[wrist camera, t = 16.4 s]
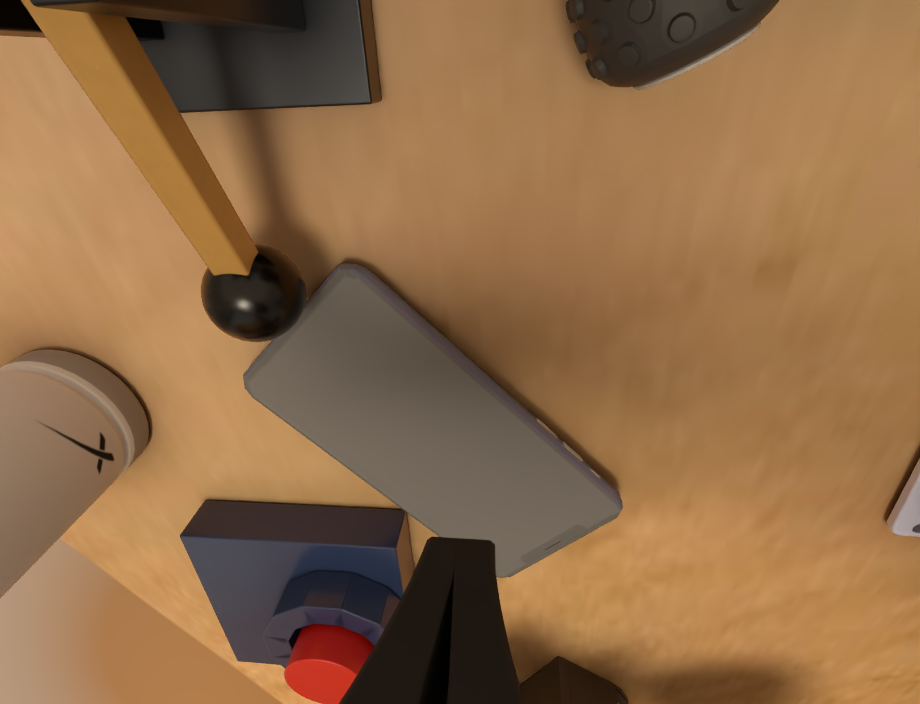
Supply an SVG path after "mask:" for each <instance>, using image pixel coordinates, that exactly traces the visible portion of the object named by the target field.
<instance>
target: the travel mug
mask: <svg viewBox="0 0 920 704" xmlns="http://www.w3.org/2000/svg"><path fill="white" fill-rule="evenodd" d="M148 436H149V429H148V421H147V418H146V415H145V412H144V410H143V408H142V406H141V404H140V402H139V401H138V399H137V398H136V397H135V395H134V394H133V393H132V391H131V390H130V389H129V388H128V387H127V386H126V385H125V384H124V383H123V382H122V381H121V380H120V379H119V378H118V377H116V376H115V375H114V374H113V373H111V372H110V371H109V370H107V369H106V368H104V367H102V366H101V365H99V364H97V363H96V362H94V361H92V360H89V359H87V358H85V357H83V356H80V355H77V354H74V353H70V352H67V351H60V350H52V349H46V350H34V351H31V352H28V353H25V354H23V355H21V356H19V357H18V358H16V359H14V360H13V361H11V362H9V363H8V364H6V365H4V366H2V367H1V368H0V598H1V597H2V596H3V595H4V594H5V593H6V592H7V591H8V590H9V589H10V588H11V587H12V586H13V585H14V584H15V583H16V582H17V581H18V580H19V579H20V578H21V576H23V575H24V574H25V572H26V571H27V570H28V569H29V568H30V567H31V566H32V565H33V564H34V563H35V562H36V561H37V560H38V559H39V558H40V557H41V556H42V555H43V554H44V553H45V552H46V551H47V550H48V549H49V548H50V547H51V546H52V545H53V544H54V543H55V542H56V541H57V540H58V539H59V538H60V537H61V536H62V535H63V533H64V532H65V531H66V530H67V529H68V528H69V527H70V526H71V525H72V524H73V523H74V522H75V521H76V520H77V519H78V518H79V517H80V516H81V515H82V514H83V513H84V512H85V511H86V510H87V509H88V508H89V507H90V506H91V505H92V504H93V503H94V502H95V501H96V500H97V499H98V498H99V496H100V495H101V494H102V493H103V492H104V491H105V490H106V489H107V488H108V487H109V486H110V485H111V484H112V483H113V482H114V481H115V480H116V479H117V478H118V476H119V475H120V474H121V473H123V472H124V471H125V470H126V469H127V468H128V467H129V466H130V465H131V464H132V463H133V462H134V461H135V459H136V458H137V457H138V456H139V455H140V454H141V453H142V452H143V450H144V449H145V447H146V445H147V441H148Z"/></svg>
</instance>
